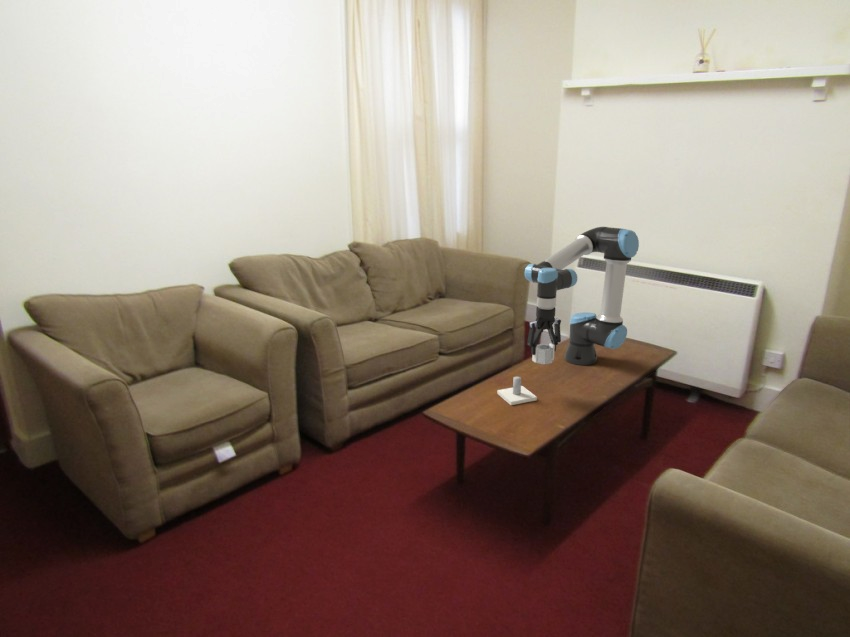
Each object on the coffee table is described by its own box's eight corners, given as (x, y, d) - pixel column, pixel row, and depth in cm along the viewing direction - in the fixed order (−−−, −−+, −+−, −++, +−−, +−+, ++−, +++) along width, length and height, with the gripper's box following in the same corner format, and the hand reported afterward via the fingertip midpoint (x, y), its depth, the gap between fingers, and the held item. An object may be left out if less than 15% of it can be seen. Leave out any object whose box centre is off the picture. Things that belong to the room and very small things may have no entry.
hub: (545, 356, 238) (546, 343, 236) (555, 362, 231) (556, 348, 230) (530, 359, 235) (531, 345, 233) (540, 365, 229) (541, 351, 227)
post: (522, 388, 244) (522, 370, 241) (536, 400, 233) (537, 381, 230) (497, 393, 240) (497, 375, 237) (510, 405, 229) (511, 386, 227)
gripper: (561, 301, 233) (558, 353, 240) (519, 307, 226) (517, 360, 233) (572, 306, 226) (569, 359, 233) (529, 312, 220) (526, 366, 226)
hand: (543, 360), depth 233 cm, fingers closed on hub, 7 cm apart
